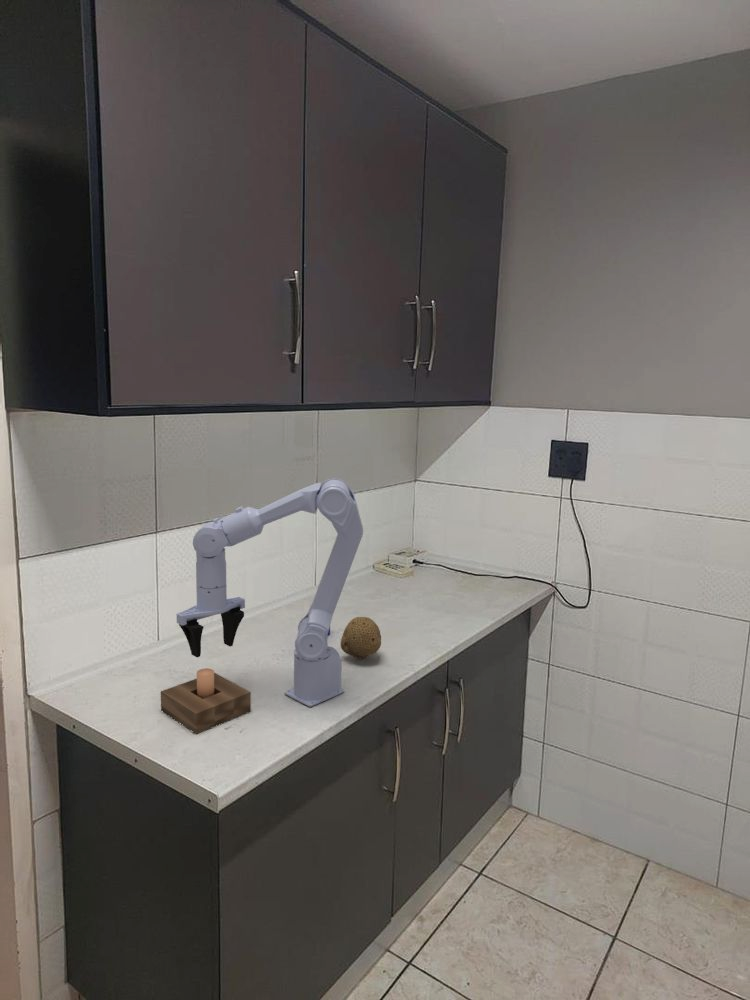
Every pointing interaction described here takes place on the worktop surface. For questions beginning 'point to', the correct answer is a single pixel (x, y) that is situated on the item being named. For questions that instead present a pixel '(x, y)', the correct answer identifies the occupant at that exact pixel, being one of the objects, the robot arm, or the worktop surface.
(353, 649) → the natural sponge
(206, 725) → the walnut socket block
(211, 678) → the terracotta peg
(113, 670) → the worktop surface
